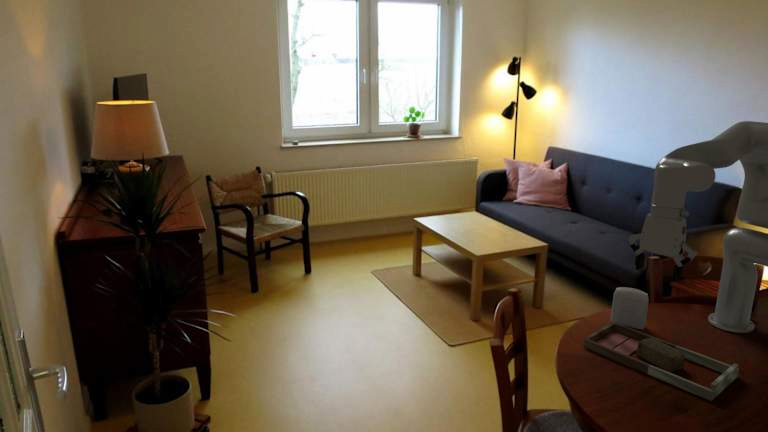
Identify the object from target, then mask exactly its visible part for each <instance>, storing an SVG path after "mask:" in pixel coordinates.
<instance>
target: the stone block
mask: <svg viewBox="0 0 768 432" xmlns="http://www.w3.org/2000/svg"><path fill="white" fill-rule="evenodd" d="M635 353H636V355H638V356H639V358H641V359H643V361H646V362H649V364H651V365H653V366H654V365H655V367H658V368H660V369H662V370H665V371H667V372H670V373H673V372H677V371H680V370H682V369H684V367H685V360H686V359H685V356H684V355H683V353H682V352H681V351H679V350H676V349H675V348H673V347H671V346H669V345H667V344H664V343H662V342H660V341H659V340H656V339H654V338H647V339H643V340H641V341H639V343H638V347H637V350H636V351H635Z"/></svg>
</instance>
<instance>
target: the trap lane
mask: <svg viewBox="0 0 768 432" xmlns="http://www.w3.org/2000/svg"><path fill="white" fill-rule="evenodd" d="M647 338H654V339H656V340H659V341H660V342H662V343H664V344H667V345H669V346H671V347H673V348H675V349H676V350H679V351H681V352H682V353H683V355H684V356H685V360H687V361H690V362H693V363H696V364H699V365H702V366H703V365H704V367H706V368H709V369H711V370H714V371H716V372H720V373H721V374H720V375H719V376H718V377H717V378H716V379H715V380H714V381H712V382H711V383H710V387H707V386H703V385H701V384H700V383H699V384H698V383H696V382H694V381H691V380H689V379H686V378H684V377H682V376H679V375H676V374H675V373H673V372H669V371H666V370H664V369H662V368H660V367H658V366H656V365H655V366H654V364H651V363H648V362H645V361H644V360H643V361H642V360H640V359H639V358H638V359H637V358H635V357H633V356H631V355H632V354H634V353H636V350H637V347H638V343H639V341H641V340H643V339H647ZM599 339H600V340H599ZM583 342H584V343H583V348H584V349H588V350H589V349H590V351H592V352H594V353H597V354H599V355H601V356H604V357H606V358H608V359H611V360H613V361H615V362H618V363H619V364H620V363H621V364H623V365H625V366H626V367H630V368H632V369H635V370H637V371H639V372H642V373H644V374H646V375H648V376H650V377H653V378H655V379H657V380H658V379H659V381H663V382H664V383H668V384H670V385H672V386H674V387H677V388H679V389H682V390H684V391H686V392H689V393H692V394H693V395H696V396H699V397H701V398H703V399H704V400H705V399H706V400H708V401H710V402H712V401H713V400H714V399H715V398H716V397H717V396H718V395H719V394H721V393H722V392H723V391H724V390H725V389H726V388H727V387H728V386H729V385H730V384H732V383H733V382H734V381H735V380H736V379H737V378H738V376H739V371H740V367H739V364H738V363H734V362H733V364H728V363H726V362H723V361H720V360H718V359H715V358H712V357H710V356H707V355H704V354H703V353H698V352H696V351H693V350H690V349H688V348H685V347H683V346H681V345H680V346H679V345H677V344H675V343H673V342H669V341H667V340H663V339H661V338H657V337H655V336H653V335H650V334H647V333H645V332H643V331H640V330H638V329H637V330H636V329H635V328H632V327H628V326H624V325H621V324H618V323H615V322H614V323H612V322H610V323H609V324H607V325H604V326H603V327H601V328H600V329H597V330H596V331H594V332H592V333H591V334H589V335H588V336H587V335H586V337H584V341H583Z"/></svg>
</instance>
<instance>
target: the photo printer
mask: <svg viewBox="0 0 768 432" xmlns="http://www.w3.org/2000/svg"><path fill="white" fill-rule="evenodd" d="M648 295H649V294H648V293H647V292H644V291H642V290H640V289H638V288H633V287H625V286H621V287H616V288H615V291H614V292H613V297H612V305H611V313H610V323H614V322H615V323H618V324H621V325H623V326H626V327H629V328H631V329H637V330H645V328H646V320H647V315H648V308H649V300H650V299H649V296H648Z"/></svg>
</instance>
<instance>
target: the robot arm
mask: <svg viewBox="0 0 768 432" xmlns="http://www.w3.org/2000/svg"><path fill="white" fill-rule="evenodd" d="M738 161H740V163H741V165H742V168H743V171H744V172H743V173H744V180H743V184H742V188H741V192H740V196H739V201H738V205H737V209H736V217H737V220H738V221H739V222H741V223H743V224H747V225H750V226H753V227H754V226H755V227H757V228H758V227H759V228H763V229H768V122H765V121H764V122H762V121H750V120H749V121H748V120H744V121H740V122H735V124H733V125H731V126H730V127H728V128H727V129H726V130H724V131H723V132H721V133H720V134H718V135H717V136H715V137H714V138H712V139H710V140H709V139H708V140H703V141H700V142H697V143H692V144H689V145H688V144H687V145H683V146H681V147H678V148H675V149H673V150H671V151H670V152H669V153H668V154H666V155H665V156H663V157H662V158H660V160H658V162H657V164H656V165H655V168H654V172H653V173H654V174H653V175H654V183H653V190H652V196H651V203H650V204H651V205H650V210H649V213H647V215H646V217H645V221H644V224H643V226H642V230H641V233H637V234H633V235H630V236H629V237H628V241H629V244H630V248H631V249H632V251H633V253H634V255H635V260H634V261H635V262H634V265H635V271H639V270H642V269H643V268H644V267H645V258H646V255H645V252H648V253H652V254H655V255H660V256H662V257H663V256H664V257H668V258H671V259H673V261H674V262H675V265H674V267H673V271H672V272H673V273H672V280H673V281H678V280H679V279H681V278H682V277H683V273H684V265H686V264H688V263H689V262H692V261H693V259H694V258H695V257H696V256H697V255H698V254H699V253H698V251H697V250H696V249H694V248H693V247H692V246H691V245H689V243H687V220H686V218H684V217H688V216H689V215H690V211H688V210H686V208H685V202H686V195H687V192H696V193H697V192H698V193H699V192H704V191H706V190H708V189H710V188H711V186H713V185H714V182H715V180H716V176H717V175H716V171H715V170H716V169H717V170H718V169H725V168H727V167H731V166H733V165H734V164H735V163H737V162H738ZM637 240H639V243H637ZM685 252H686V253H687V254H688V255H687V256H686V257H684V256H683V254H684V253H685ZM722 252H723V257H722V258H723V259H722V261H723V262H722V266H721V267H722V269H721V274H720V279H719V285H718V293H717V298H716V303H715V310H714V312H712V313H710V314H709V315H708V317H707V320H708V322H709V323H710V324H711V326H714V327H716V328H718V329H720V330H723V331H726V332H732V333H739V334H748V333H751V332H753V331H754V330H755V326H756V325H755V323H754V322H753V321H752V320H751V314H752V309H753V304H754V299H755V294H756V289H757V288H756V287H757V282H758V279H759V278H758V277H759V273H758V269H757V267H756V265H760V266H764V267H767V268H768V232H763V231H760V230H757V229H751V228H746V227H733V228H730V229H728V230H727V231H726V233H725V234H724V236H723V240H722Z"/></svg>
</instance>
